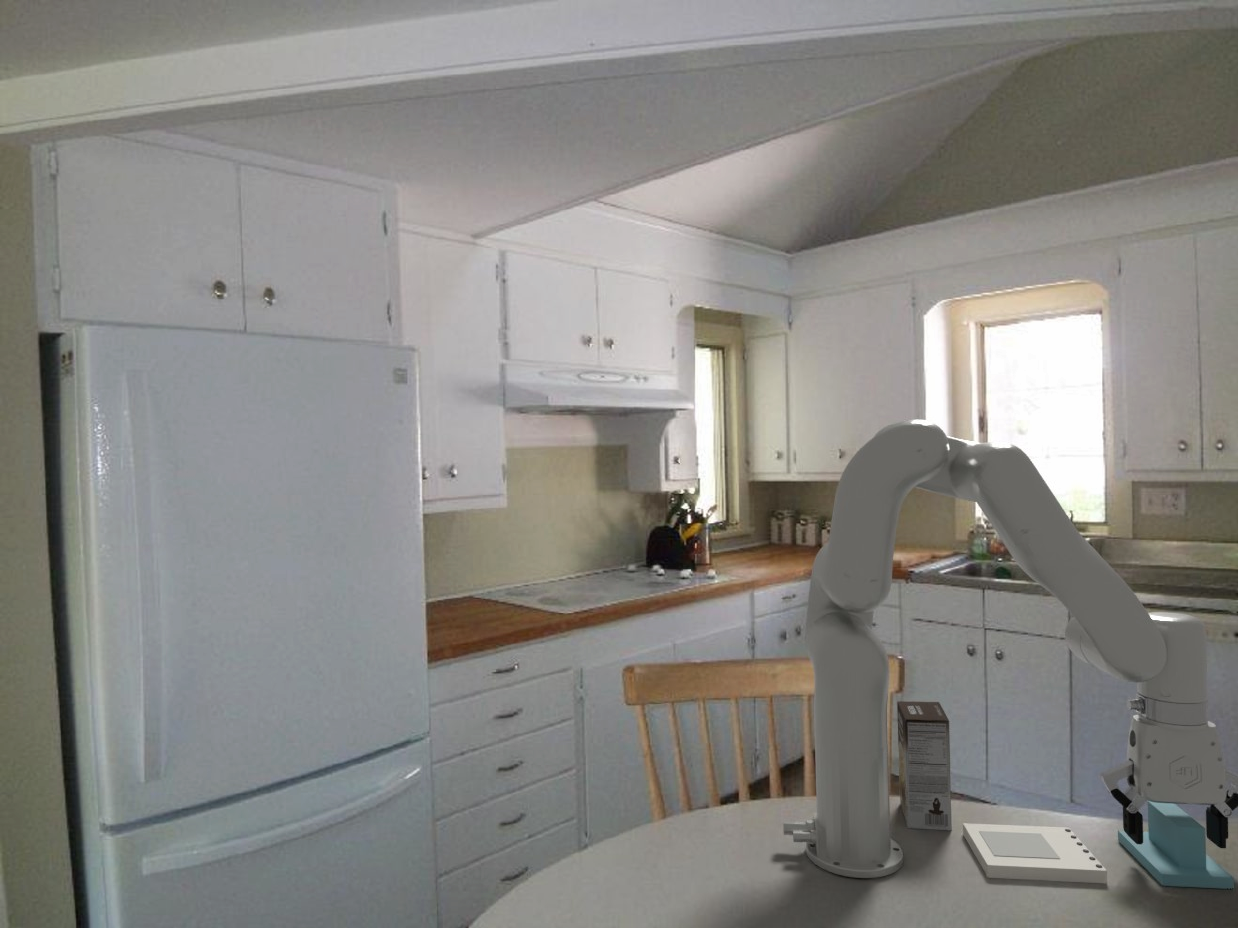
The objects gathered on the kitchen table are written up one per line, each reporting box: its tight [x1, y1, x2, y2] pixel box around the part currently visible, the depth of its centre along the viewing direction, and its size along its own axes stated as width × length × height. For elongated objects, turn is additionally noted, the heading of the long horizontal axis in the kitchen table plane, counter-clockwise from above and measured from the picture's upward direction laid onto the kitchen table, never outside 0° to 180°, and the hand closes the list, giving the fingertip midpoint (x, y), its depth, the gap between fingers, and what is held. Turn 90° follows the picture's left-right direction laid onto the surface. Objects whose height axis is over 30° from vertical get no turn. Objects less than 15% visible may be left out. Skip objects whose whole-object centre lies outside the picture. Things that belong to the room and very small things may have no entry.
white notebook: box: [962, 822, 1108, 884], centre depth 108 cm, size 14×12×2 cm
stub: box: [1117, 800, 1235, 890], centre depth 105 cm, size 8×12×6 cm, turn 171°
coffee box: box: [896, 700, 953, 832], centre depth 121 cm, size 9×6×16 cm
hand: (1175, 841), depth 105 cm, fingers open, 9 cm apart
